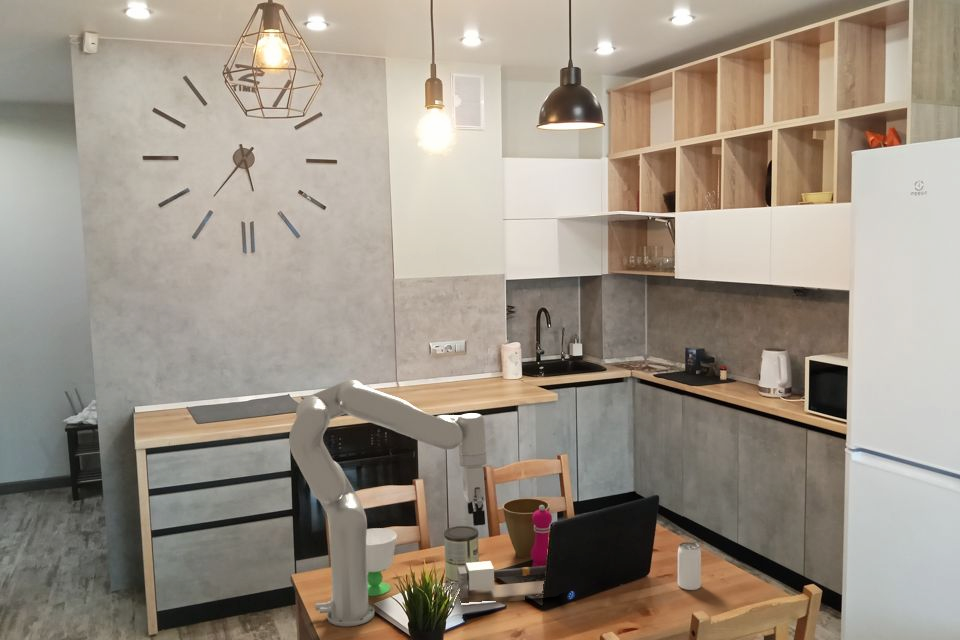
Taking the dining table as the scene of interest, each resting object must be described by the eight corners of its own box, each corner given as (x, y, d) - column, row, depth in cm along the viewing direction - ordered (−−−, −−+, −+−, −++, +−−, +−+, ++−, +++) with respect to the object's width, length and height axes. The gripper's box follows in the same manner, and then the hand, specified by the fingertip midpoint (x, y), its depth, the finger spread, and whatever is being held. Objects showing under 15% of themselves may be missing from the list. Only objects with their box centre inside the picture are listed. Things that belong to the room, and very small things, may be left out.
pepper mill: (534, 574, 240) (533, 509, 239) (528, 565, 247) (527, 502, 246) (557, 572, 242) (556, 507, 240) (550, 563, 249) (550, 500, 247)
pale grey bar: (461, 605, 220) (460, 576, 220) (457, 593, 228) (456, 564, 227) (560, 596, 225) (559, 567, 224) (552, 585, 233) (552, 556, 232)
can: (686, 592, 226) (686, 551, 225) (673, 583, 232) (673, 543, 231) (705, 588, 228) (705, 547, 227) (691, 580, 234) (691, 540, 233)
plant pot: (527, 541, 267) (527, 495, 266) (559, 554, 256) (559, 505, 255) (494, 553, 258) (493, 504, 257) (525, 566, 247) (524, 516, 245)
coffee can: (447, 570, 245) (446, 525, 244) (481, 571, 244) (480, 525, 243) (442, 584, 235) (441, 537, 234) (477, 585, 234) (476, 538, 233)
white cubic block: (469, 590, 222) (469, 570, 221) (466, 582, 227) (466, 562, 227) (494, 588, 223) (493, 568, 222) (490, 579, 228) (490, 560, 228)
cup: (390, 601, 224) (388, 546, 223) (344, 597, 227) (342, 543, 226) (404, 581, 238) (403, 529, 236) (360, 578, 240) (358, 527, 239)
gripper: (455, 452, 229) (459, 510, 231) (463, 468, 212) (467, 531, 214) (481, 449, 230) (484, 507, 232) (491, 465, 213) (495, 528, 215)
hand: (476, 518), depth 223 cm, fingers open, 9 cm apart
